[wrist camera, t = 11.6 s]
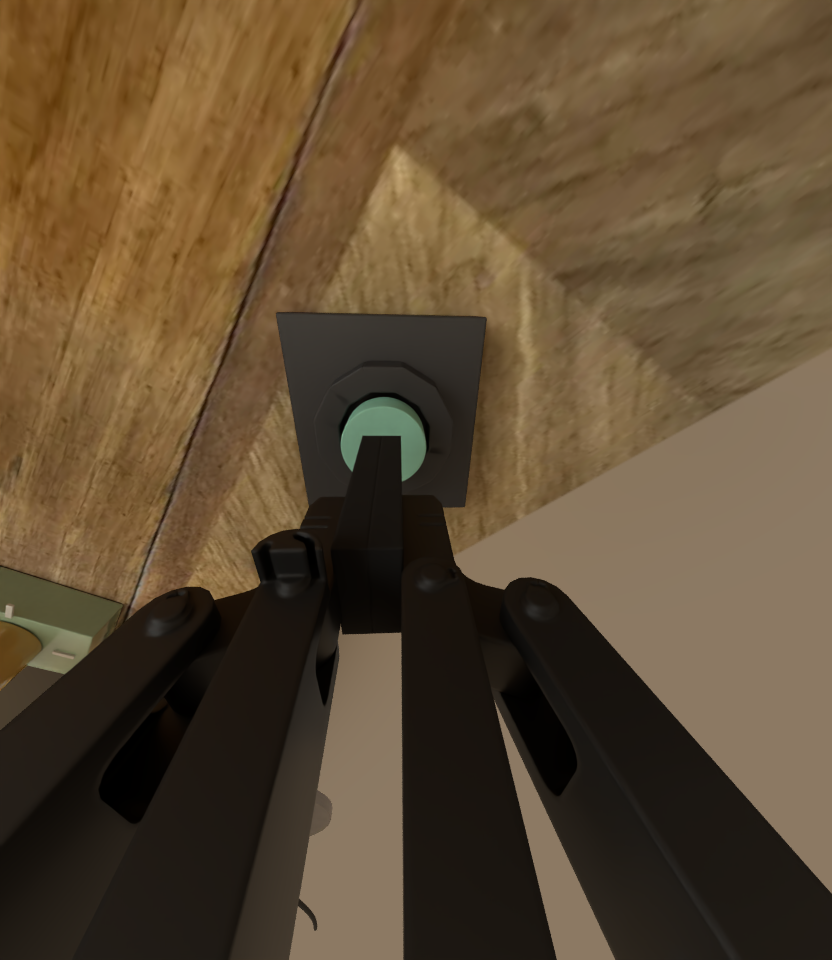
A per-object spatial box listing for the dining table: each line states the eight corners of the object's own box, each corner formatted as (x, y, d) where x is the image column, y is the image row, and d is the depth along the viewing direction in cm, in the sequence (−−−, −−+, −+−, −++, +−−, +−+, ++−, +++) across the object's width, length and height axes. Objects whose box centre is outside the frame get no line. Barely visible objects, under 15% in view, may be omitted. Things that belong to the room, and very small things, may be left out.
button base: (459, 490, 22) (470, 524, 19) (317, 491, 22) (301, 527, 18) (477, 316, 17) (498, 317, 13) (289, 312, 16) (259, 312, 13)
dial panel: (127, 595, 25) (93, 630, 23) (106, 651, 28) (75, 688, 26) (-29, 544, 22) (-89, 578, 19) (-32, 614, 25) (-84, 651, 23)
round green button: (422, 469, 17) (424, 485, 16) (349, 470, 17) (344, 486, 15) (425, 396, 15) (428, 406, 14) (342, 396, 15) (336, 406, 13)
